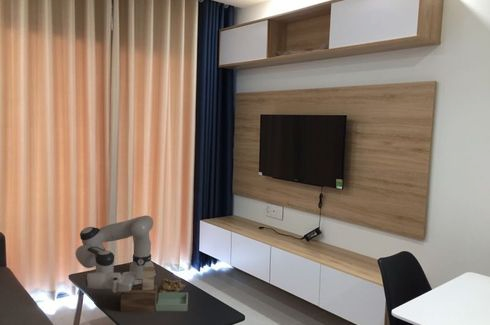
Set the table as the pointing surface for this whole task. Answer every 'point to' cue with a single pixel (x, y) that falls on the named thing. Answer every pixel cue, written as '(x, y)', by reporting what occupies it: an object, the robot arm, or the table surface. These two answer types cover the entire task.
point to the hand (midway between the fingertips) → (142, 281)
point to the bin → (172, 302)
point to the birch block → (148, 277)
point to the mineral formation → (171, 286)
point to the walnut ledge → (139, 299)
